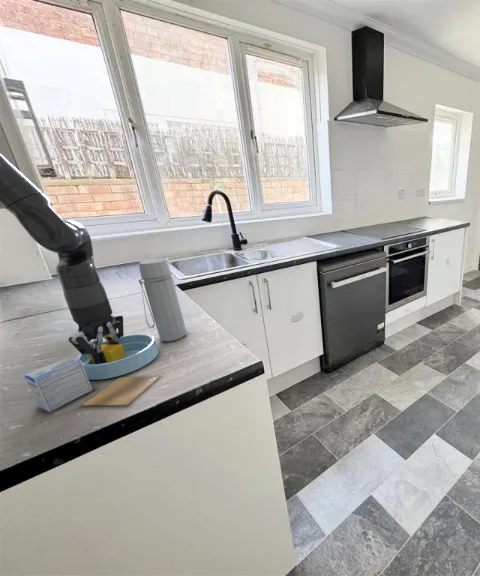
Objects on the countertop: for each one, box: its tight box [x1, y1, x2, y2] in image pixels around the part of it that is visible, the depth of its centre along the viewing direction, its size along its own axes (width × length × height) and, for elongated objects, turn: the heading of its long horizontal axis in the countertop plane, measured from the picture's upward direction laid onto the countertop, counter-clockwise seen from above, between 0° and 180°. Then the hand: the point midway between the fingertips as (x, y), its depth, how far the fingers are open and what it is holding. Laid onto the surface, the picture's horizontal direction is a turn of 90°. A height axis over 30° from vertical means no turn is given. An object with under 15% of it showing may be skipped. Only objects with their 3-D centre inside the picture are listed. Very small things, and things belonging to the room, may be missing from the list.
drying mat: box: [82, 376, 160, 407], centre depth 73 cm, size 10×10×1 cm
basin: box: [75, 333, 159, 381], centre depth 84 cm, size 16×16×5 cm
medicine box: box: [24, 356, 93, 413], centre depth 69 cm, size 8×4×9 cm, turn 159°
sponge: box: [89, 344, 126, 364], centre depth 83 cm, size 6×4×4 cm, turn 90°
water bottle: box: [137, 257, 187, 342], centre depth 93 cm, size 9×8×25 cm
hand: (109, 358), depth 84 cm, fingers closed on sponge, 4 cm apart
